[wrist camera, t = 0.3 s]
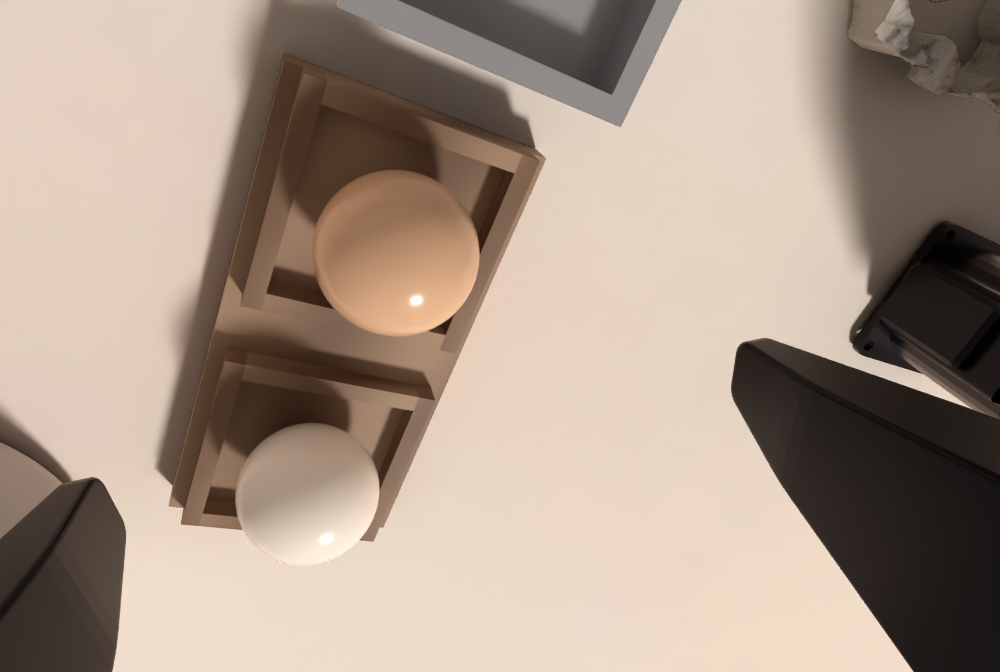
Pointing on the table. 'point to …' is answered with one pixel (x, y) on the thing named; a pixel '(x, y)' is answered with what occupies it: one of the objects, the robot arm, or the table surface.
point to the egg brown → (395, 253)
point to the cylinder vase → (21, 486)
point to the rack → (304, 308)
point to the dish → (541, 42)
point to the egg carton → (933, 49)
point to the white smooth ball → (307, 494)
